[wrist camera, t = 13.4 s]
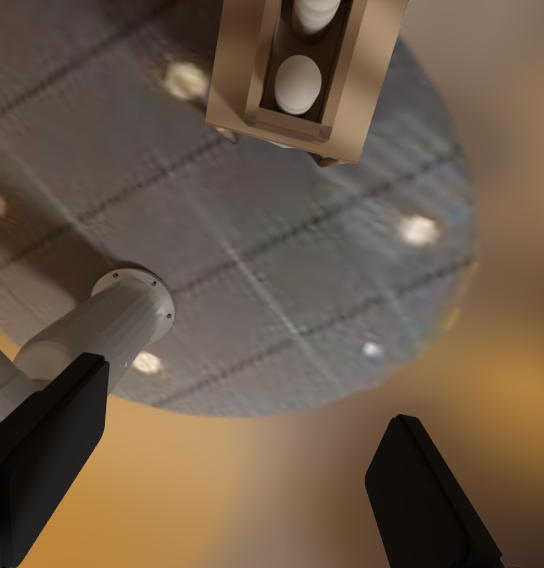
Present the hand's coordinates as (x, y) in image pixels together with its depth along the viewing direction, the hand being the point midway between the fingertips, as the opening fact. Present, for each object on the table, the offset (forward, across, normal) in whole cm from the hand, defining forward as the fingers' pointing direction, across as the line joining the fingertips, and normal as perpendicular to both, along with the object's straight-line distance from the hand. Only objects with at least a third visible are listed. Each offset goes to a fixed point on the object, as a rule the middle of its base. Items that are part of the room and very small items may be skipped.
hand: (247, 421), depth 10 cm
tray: (+20, +1, -16) cm, 25 cm away
